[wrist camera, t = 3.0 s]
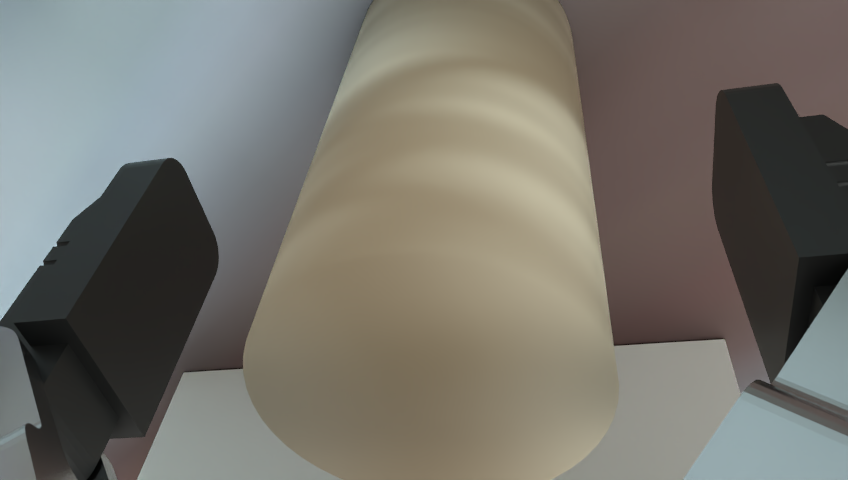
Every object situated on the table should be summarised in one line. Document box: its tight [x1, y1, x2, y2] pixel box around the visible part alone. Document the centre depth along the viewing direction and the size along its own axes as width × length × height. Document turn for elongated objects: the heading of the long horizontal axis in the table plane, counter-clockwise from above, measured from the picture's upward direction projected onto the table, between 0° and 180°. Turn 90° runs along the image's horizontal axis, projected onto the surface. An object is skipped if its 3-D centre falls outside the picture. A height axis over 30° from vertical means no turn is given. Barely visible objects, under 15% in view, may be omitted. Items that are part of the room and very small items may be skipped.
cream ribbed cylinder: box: [243, 0, 619, 480], centre depth 11 cm, size 4×4×8 cm
